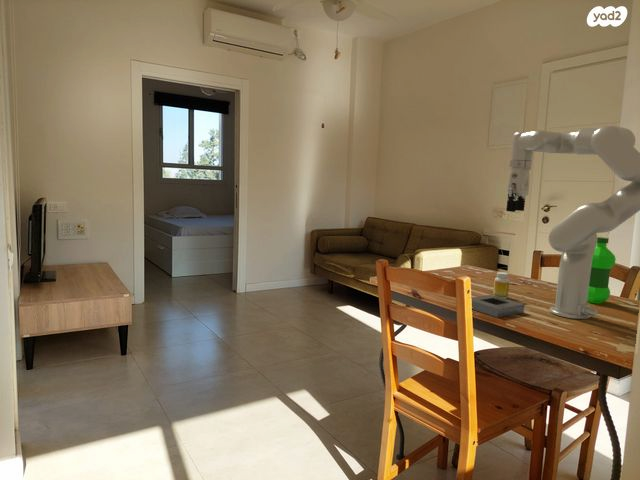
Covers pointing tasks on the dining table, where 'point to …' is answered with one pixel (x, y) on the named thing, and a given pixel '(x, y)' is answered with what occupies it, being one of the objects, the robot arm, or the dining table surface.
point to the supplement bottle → (501, 285)
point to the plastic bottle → (600, 272)
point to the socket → (496, 306)
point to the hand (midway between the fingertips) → (515, 210)
